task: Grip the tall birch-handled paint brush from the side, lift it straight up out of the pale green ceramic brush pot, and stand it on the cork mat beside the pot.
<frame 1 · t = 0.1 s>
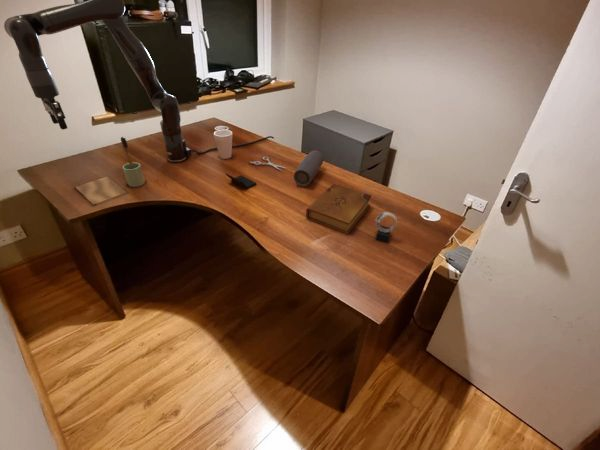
hand: (60, 125, 129), 29 cm above the table, tool pointing down, fingers open, 8 cm apart
mat: (101, 190, 147), on the table
scissors: (270, 165, 171), on the table
watch: (382, 237, 127), on the table
bluetooth speaker: (308, 177, 163), on the table
dark angular piece: (241, 184, 155), on the table
brush pot: (136, 183, 153), on the table
brush: (136, 182, 152), point 1 cm above the table, touching brush pot
diary: (338, 213, 139), on the table
foam cup: (225, 156, 178), on the table
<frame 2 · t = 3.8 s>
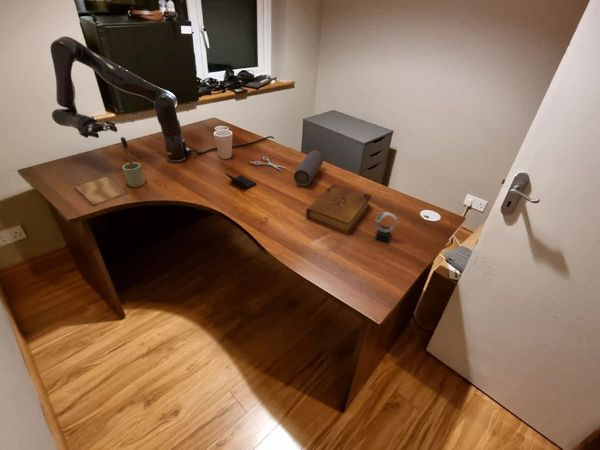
hand: (107, 132, 144), 22 cm above the table, tool horizontal, fingers open, 8 cm apart
nothing on the table moved.
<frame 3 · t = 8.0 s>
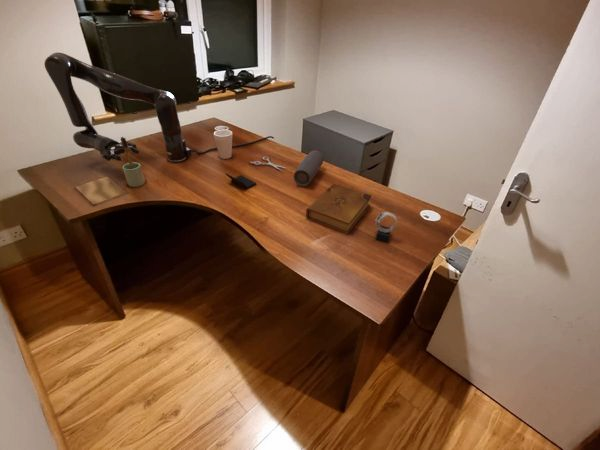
hand: (129, 155, 143), 15 cm above the table, tool horizontal, fingers open, 8 cm apart
nothing on the table moved.
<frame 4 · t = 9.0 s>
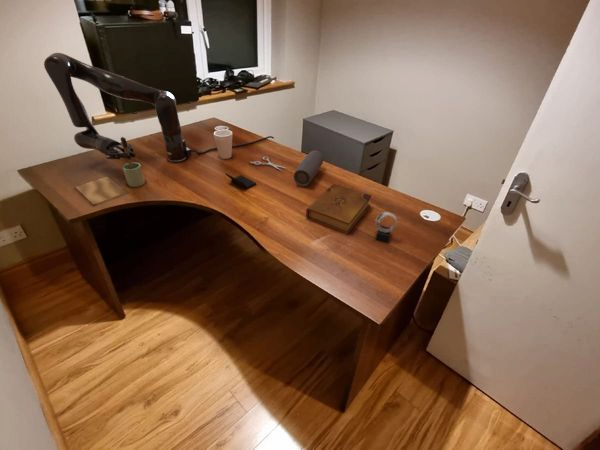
hand: (132, 156, 143), 14 cm above the table, tool horizontal, fingers closed on brush, 1 cm apart
brush: (136, 182, 152), point 1 cm above the table, touching brush pot, gripper
everything else where it was.
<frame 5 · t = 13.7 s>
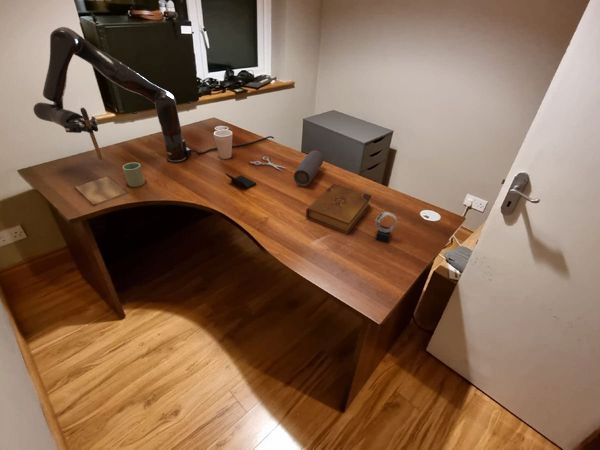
hand: (94, 129, 130), 28 cm above the table, tool horizontal, fingers closed on brush, 1 cm apart
brush: (101, 159, 140), point 14 cm above the table, touching gripper
everything else where it was.
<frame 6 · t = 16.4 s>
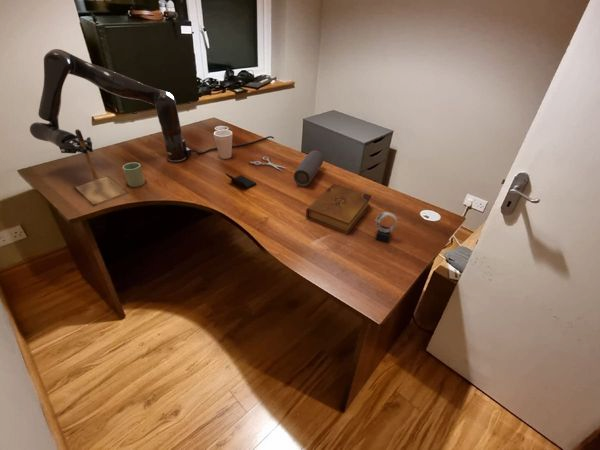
hand: (88, 150, 134), 20 cm above the table, tool horizontal, fingers closed on brush, 1 cm apart
brush: (95, 178, 143), point 6 cm above the table, touching gripper
everything else where it was.
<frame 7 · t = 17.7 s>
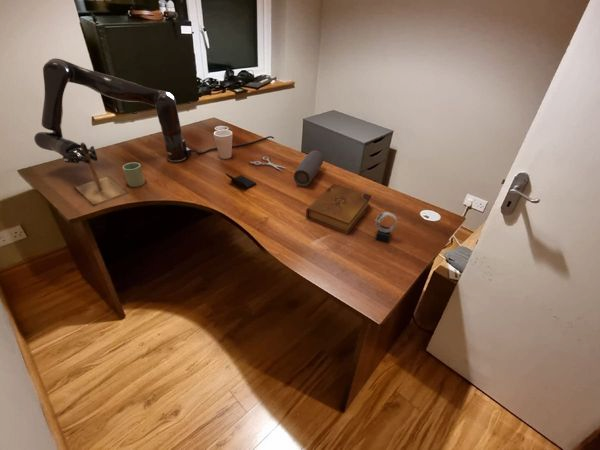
hand: (92, 159, 136), 16 cm above the table, tool horizontal, fingers closed
brush: (100, 189, 147), point 1 cm above the table, touching mat
everything else where it was.
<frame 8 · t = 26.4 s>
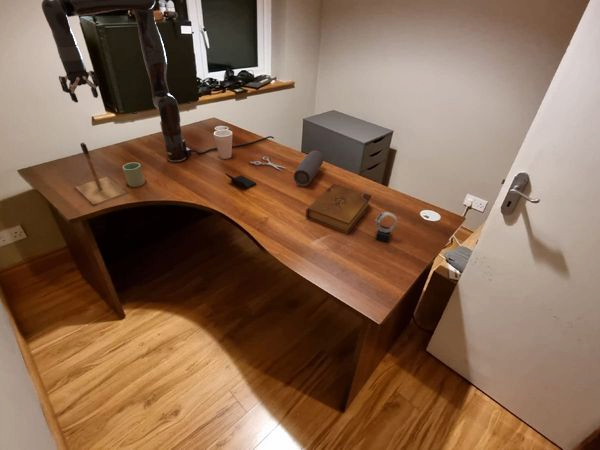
hand: (86, 99, 141), 34 cm above the table, tool pointing down, fingers open, 8 cm apart
nothing on the table moved.
at the end: brush inside the target area on the mat (0.0 cm from its centre), point 0.6 cm above the mat's base; brush touching mat; the gripper is holding nothing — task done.
